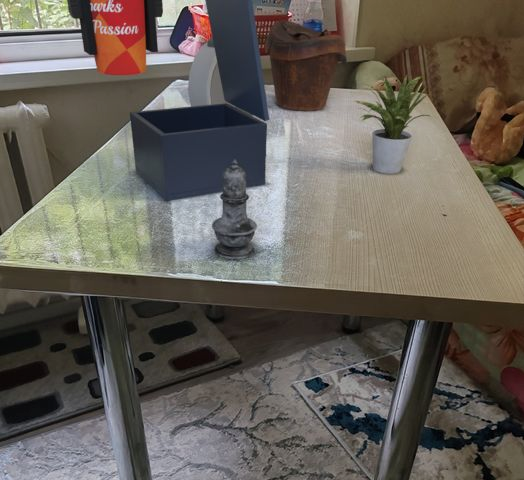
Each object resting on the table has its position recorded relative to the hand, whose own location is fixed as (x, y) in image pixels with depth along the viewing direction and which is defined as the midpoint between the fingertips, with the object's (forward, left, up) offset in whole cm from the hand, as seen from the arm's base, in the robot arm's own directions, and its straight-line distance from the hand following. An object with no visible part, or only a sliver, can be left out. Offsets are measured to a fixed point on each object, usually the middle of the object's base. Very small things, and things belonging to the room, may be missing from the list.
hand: (121, 51), depth 62 cm
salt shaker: (+13, -4, -23) cm, 26 cm away
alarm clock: (+7, +51, -23) cm, 57 cm away
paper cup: (0, 0, -2) cm, 2 cm away
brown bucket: (+26, +79, -23) cm, 87 cm away
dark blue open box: (+6, +23, -23) cm, 33 cm away
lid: (+11, +27, -3) cm, 29 cm away
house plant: (+39, +33, -23) cm, 57 cm away
